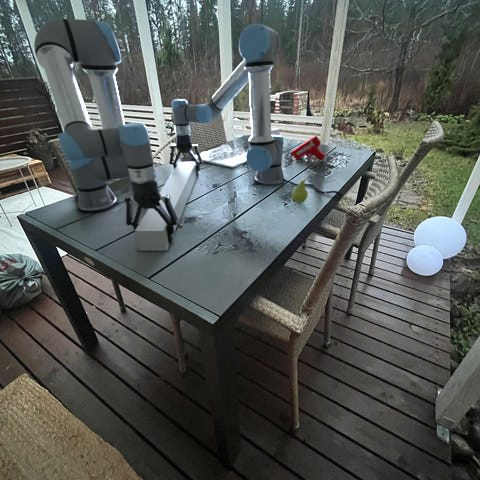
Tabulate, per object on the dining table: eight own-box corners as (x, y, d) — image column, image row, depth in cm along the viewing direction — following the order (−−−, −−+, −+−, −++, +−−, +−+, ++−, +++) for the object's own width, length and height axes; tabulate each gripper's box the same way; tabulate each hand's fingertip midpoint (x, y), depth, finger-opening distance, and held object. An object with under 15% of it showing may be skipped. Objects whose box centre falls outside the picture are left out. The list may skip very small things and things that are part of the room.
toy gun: (328, 155, 171) (316, 134, 167) (328, 157, 168) (316, 136, 164) (303, 170, 181) (291, 151, 177) (303, 172, 178) (290, 152, 174)
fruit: (288, 200, 123) (290, 174, 116) (302, 197, 125) (305, 172, 119) (296, 206, 118) (299, 179, 111) (310, 203, 120) (314, 177, 114)
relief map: (232, 167, 162) (232, 159, 160) (191, 158, 180) (190, 150, 177) (257, 157, 181) (258, 149, 178) (218, 149, 198) (217, 142, 196)
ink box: (274, 143, 212) (275, 127, 205) (279, 145, 208) (280, 128, 202) (267, 145, 206) (268, 129, 200) (272, 147, 203) (273, 130, 197)
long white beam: (181, 175, 153) (179, 161, 149) (197, 175, 153) (196, 161, 148) (139, 250, 90) (134, 231, 86) (166, 250, 90) (163, 230, 86)
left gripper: (102, 184, 79) (121, 247, 91) (177, 183, 79) (186, 247, 91) (112, 175, 85) (128, 236, 97) (182, 175, 85) (189, 235, 97)
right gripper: (158, 135, 133) (165, 179, 145) (204, 135, 133) (207, 179, 145) (162, 132, 140) (168, 174, 152) (206, 132, 139) (209, 174, 151)
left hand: (156, 241), depth 94 cm, fingers closed on long white beam, 9 cm apart
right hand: (187, 176), depth 148 cm, fingers open, 10 cm apart
